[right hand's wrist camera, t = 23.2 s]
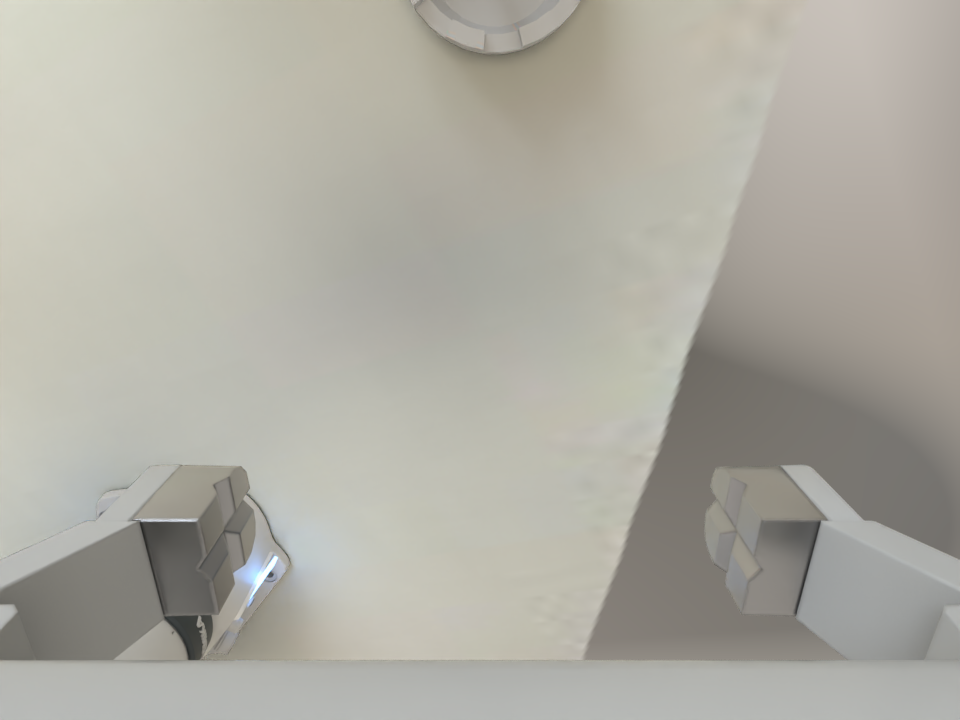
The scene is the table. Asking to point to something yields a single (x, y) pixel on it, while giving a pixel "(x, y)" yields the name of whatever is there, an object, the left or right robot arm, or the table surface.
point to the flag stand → (494, 22)
